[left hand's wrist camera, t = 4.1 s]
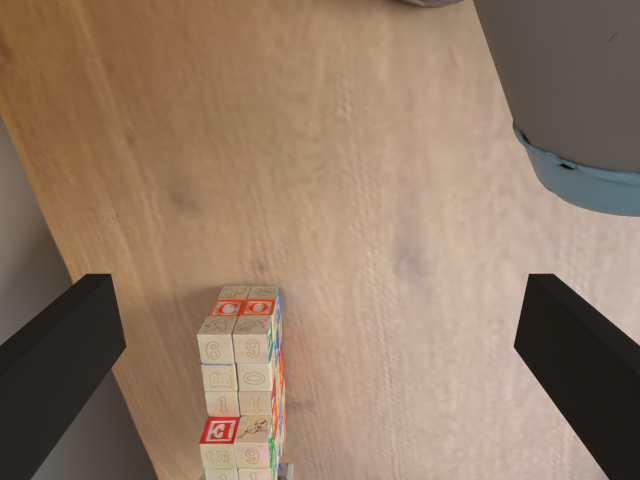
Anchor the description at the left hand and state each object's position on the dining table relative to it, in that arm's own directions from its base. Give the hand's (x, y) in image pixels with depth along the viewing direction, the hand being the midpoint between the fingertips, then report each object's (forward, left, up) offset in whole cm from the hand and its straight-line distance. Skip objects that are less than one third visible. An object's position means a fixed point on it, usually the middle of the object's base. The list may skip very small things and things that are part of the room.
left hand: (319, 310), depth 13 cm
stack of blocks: (+24, -7, -27) cm, 37 cm away
